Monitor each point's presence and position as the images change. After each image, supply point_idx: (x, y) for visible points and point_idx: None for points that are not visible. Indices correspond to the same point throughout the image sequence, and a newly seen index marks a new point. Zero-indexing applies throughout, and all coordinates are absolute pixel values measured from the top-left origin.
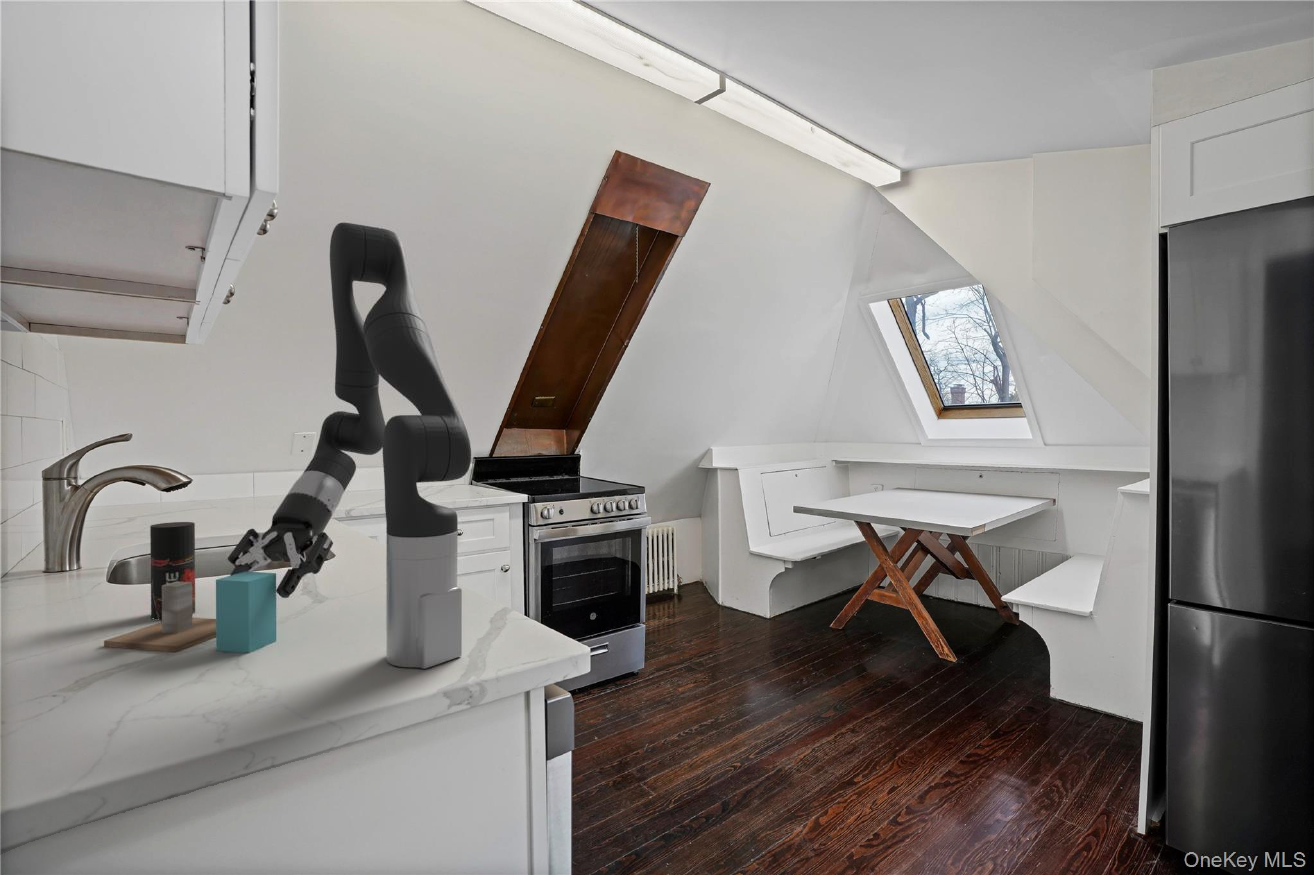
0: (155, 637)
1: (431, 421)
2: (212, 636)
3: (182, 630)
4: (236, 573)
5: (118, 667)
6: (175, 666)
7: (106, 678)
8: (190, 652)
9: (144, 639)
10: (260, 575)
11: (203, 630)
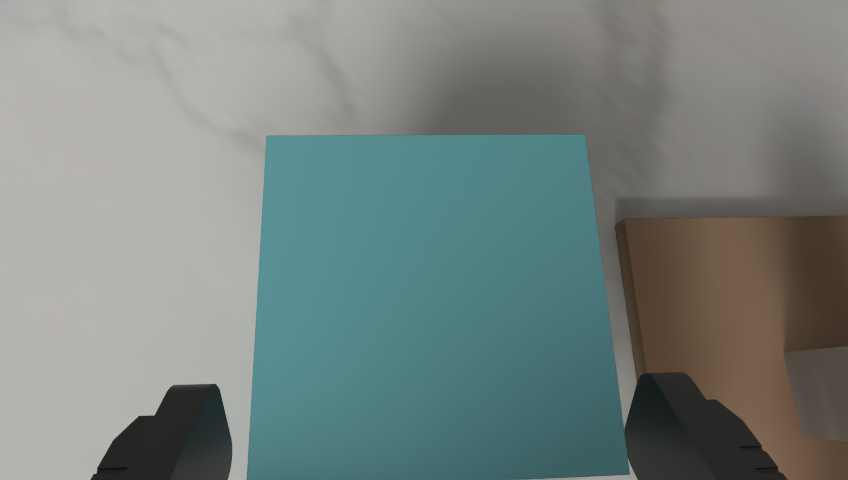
0: (811, 288)
1: None
2: None
3: (793, 380)
4: (720, 473)
5: (650, 76)
6: (483, 114)
7: (589, 5)
8: None
9: (824, 258)
10: (335, 358)
11: None
